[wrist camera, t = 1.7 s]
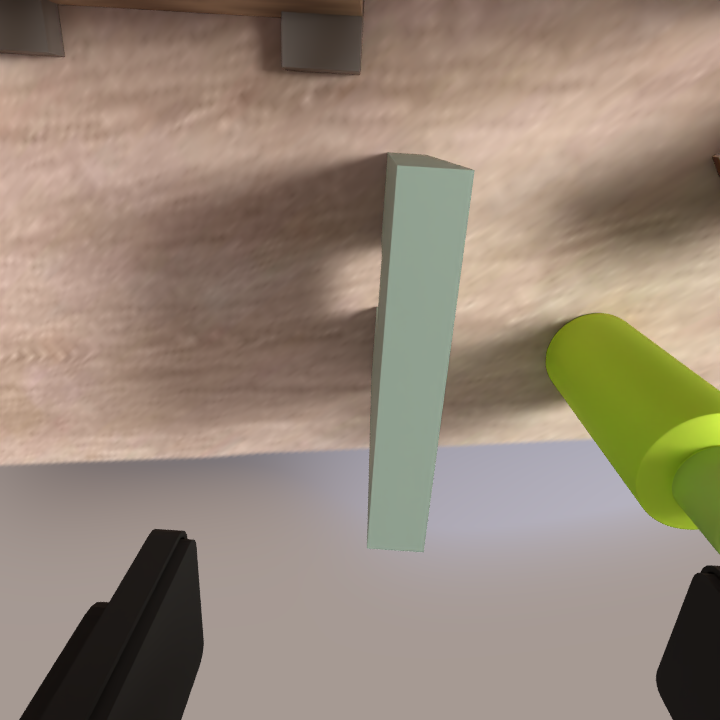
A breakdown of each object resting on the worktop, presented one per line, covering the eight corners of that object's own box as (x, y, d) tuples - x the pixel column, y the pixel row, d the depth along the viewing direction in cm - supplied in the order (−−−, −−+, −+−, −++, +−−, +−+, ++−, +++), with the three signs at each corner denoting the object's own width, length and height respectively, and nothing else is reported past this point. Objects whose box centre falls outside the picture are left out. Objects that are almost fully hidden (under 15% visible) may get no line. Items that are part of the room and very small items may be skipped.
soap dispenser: (659, 377, 34) (983, 650, 16) (554, 406, 36) (744, 693, 17) (648, 295, 32) (1004, 501, 14) (537, 329, 33) (732, 561, 15)
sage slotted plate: (371, 376, 35) (366, 548, 20) (387, 152, 30) (397, 165, 15) (404, 378, 35) (423, 552, 20) (426, 154, 30) (474, 170, 15)
